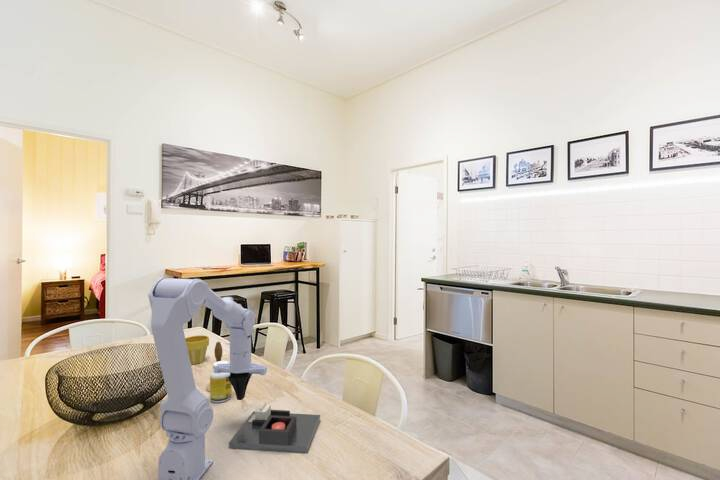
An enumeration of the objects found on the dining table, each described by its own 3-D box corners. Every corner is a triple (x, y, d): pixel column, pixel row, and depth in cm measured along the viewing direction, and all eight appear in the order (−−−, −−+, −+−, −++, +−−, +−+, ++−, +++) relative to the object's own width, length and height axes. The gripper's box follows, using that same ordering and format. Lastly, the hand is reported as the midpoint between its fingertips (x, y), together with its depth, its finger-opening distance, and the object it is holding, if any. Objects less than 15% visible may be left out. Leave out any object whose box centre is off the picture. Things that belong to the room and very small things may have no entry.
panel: (307, 453, 84) (307, 433, 84) (229, 447, 86) (228, 429, 86) (320, 420, 99) (320, 403, 99) (253, 416, 101) (253, 400, 101)
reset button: (282, 439, 87) (282, 429, 87) (269, 439, 87) (269, 429, 87) (286, 432, 90) (286, 422, 90) (274, 431, 90) (274, 421, 90)
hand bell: (231, 390, 118) (231, 344, 118) (205, 394, 115) (205, 347, 115) (231, 380, 126) (231, 337, 125) (206, 384, 123) (206, 339, 122)
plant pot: (184, 358, 148) (184, 336, 148) (210, 356, 151) (210, 334, 151) (179, 367, 138) (179, 343, 138) (207, 364, 141) (207, 341, 141)
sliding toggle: (265, 422, 94) (265, 409, 94) (255, 422, 95) (254, 409, 95) (270, 415, 98) (270, 402, 98) (260, 414, 99) (260, 402, 99)
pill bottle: (224, 404, 108) (223, 367, 108) (205, 402, 109) (205, 366, 109) (235, 395, 114) (235, 360, 114) (218, 393, 116) (218, 359, 116)
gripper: (270, 346, 100) (270, 393, 100) (223, 345, 102) (223, 390, 102) (261, 355, 93) (261, 405, 93) (210, 353, 95) (210, 402, 95)
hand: (240, 398), depth 97 cm, fingers closed
